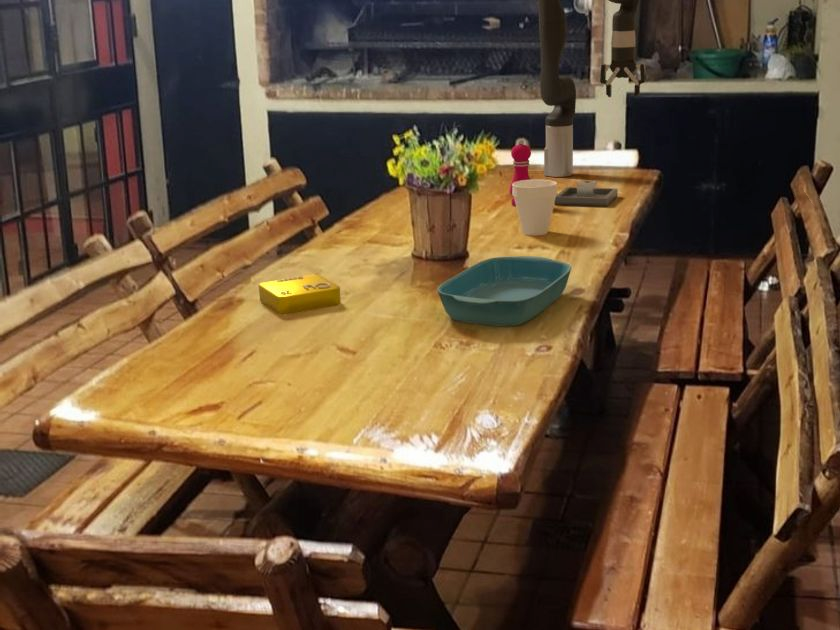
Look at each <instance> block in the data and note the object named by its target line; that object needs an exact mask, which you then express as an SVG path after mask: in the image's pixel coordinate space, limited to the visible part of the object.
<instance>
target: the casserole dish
mask: <svg viewBox="0 0 840 630" xmlns="http://www.w3.org/2000/svg"><path fill="white" fill-rule="evenodd" d="M571 271H572V266H571V265H570V264H569V263H567V262H563V261H559V260H555V259H552V258H548V257H543V256H532V255H531V256H530V255H528V256H527V255H526V256H525V255H522V256H521V255H520V256H519V255H518V256H499V257H491V258H487V259H484V260H481V261H478V262H477V263H475V264H473V265H471V266H470V267H468V268H466V269H464V270H463V271H461V272H459V273H457V274H456V275H454V276H453V277H451V278H449V279H447V280H445V281H444V282H442V283H440V285H438V287H437V288H436V291H437V294H438V296H439V298H440V301H441V304H442V307H443V309H444V312H446V314H447V315H448V316H449V317H450V318H451V319H452V320H454V321H456V322H459V323H466V324H467V323H468V324H475V325H477V324H478V325H485V326H495V327H514V326H519V325H523V324H525V323H527V322H528V321H530V320H532V319H533V318H535V317H536V316H537V315H539V314H540V313H541V312H543V311H544V310H545V309H546V308H547V307H549V306H550V305H551V304H553V303H554V302H555V301H556V300H557V299H559V297H561V295H562V294H563V293H564V291H565V290H566V287H567V284H568V281H569V277H570V273H571Z"/></svg>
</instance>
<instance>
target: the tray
mask: <svg viewBox="0 0 840 630" xmlns="http://www.w3.org/2000/svg"><path fill="white" fill-rule="evenodd" d="M618 190H619V189H618V188H609V187H607V188H604V187H596V197H577V186H576V187H575V186H572V187H571V186H567V187H565V188H564V189H562V190H561V191H560V192H559V193H557V195H556V198H555V202H554V206H566V207H567V206H568V207H569V206H573V207H600V208H601V207H602V208H606V207H608V206H609V205H610V204H611V203H612V202H613V201H614V200H615V199H617V198H618V194H619V193H618Z"/></svg>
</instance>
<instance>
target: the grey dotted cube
mask: <svg viewBox="0 0 840 630" xmlns="http://www.w3.org/2000/svg"><path fill="white" fill-rule="evenodd" d="M576 187H577V197H596V188H597V180H583V179H581V180H579V181H577V182H576Z"/></svg>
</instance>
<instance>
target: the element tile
mask: <svg viewBox="0 0 840 630" xmlns="http://www.w3.org/2000/svg"><path fill="white" fill-rule="evenodd" d="M258 292H259V293H258V295H259V302H260V301H261V302H260V303H261V304H263V303H264V304H263V305H265V306H266V307H267V306H268V307H267V308H269V307H270V308H271V310H272V311H273V310H274V311H273V312H274V313H276V314H278V313H279V315H290V313H292V314H296V313H302V311H303V312H308V310H309V311H314V310H319V309H326V308H329V307H335V306H336V307H337V306H338V305H339V304H340V303H341V304H342V302H341V301H342V300H341V286H340V285H338V284H336V283H334V282H333V281H330V280H328V279H327V278H326V277H323V276H321V275H319V274H316V273H313V274H308V275H302V276H301V275H299V276H294V277H288V278H287V277H285V278H283V279H277V280H270V281H265V282H260V283H259V284H258ZM341 304H340V305H341ZM270 308H269V309H270Z"/></svg>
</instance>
